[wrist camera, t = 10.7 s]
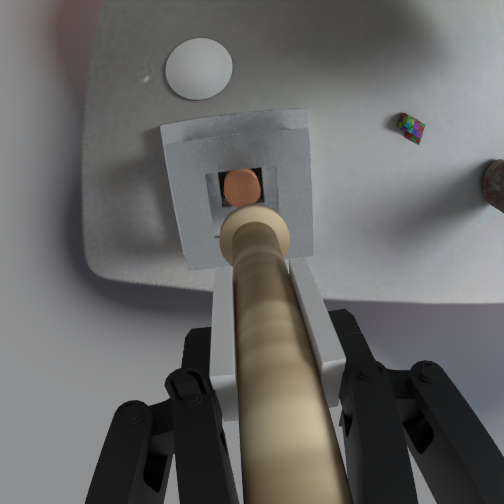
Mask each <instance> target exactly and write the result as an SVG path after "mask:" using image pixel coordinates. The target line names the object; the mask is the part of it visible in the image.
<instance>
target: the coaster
mask: <svg viewBox="0 0 504 504" xmlns="http://www.w3.org/2000/svg"><path fill="white" fill-rule="evenodd" d="M232 69H233V67H232V60H231V57H230V55H229V53H228V51H227V50H226V49H225V48H224V47H223V46H222V45H221V44H220V43H218V42H216V41H214V40H211V39H206V38H196V39H191V40H188V41H186V42H184V43H182V44H180V45H179V46H178V47H176V48H175V49H174V50H173V52H172V53H171V54H170V56H169V58H168V60H167V64H166V78H167V81H168V83H169V85H170V87H171V88H172V89H173V90H174V91H175V92H176V93H177V94H179V95H180V96H182V97H184V98H187V99H192V100H203V99H207V98H210V97H213V96H215V95H216V94H218V93H219V92H221V91H222V90H223V89H224V88H225V87H226V85H227V84H228V82H229V80H230V78H231V75H232Z"/></svg>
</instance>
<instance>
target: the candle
mask: <svg viewBox="0 0 504 504" xmlns="http://www.w3.org/2000/svg"><path fill="white" fill-rule="evenodd" d="M483 184H484V196H485V199H486V201H487V202H488V203H489V204H490V205H492V206H493V207H495V208H497V209H498V210H500V211H501V212H503V213H504V160H502V159H499V160H496V161H495V162H494V163H493V164H492V165H491V166H490V167H489V168H488V169H487V171H486V172H485V175H484V179H483Z"/></svg>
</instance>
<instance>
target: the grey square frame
mask: <svg viewBox="0 0 504 504" xmlns="http://www.w3.org/2000/svg"><path fill="white" fill-rule="evenodd" d="M160 130H161V136H162V142H163V149H164V155H165V161H166V167H167V172H168V178H169V184H170V189H171V194H172V200H173V205H174V210H175V215H176V220H177V225H178V230H179V235H180V240H181V244H182V249H183V254H184V256H186V261H187V265H188V270H189V271H191V270H199V269H208V268H216V267H224V266H231V265H230V264H229V263H228V262H227V261H226V260H225V258H224V257H223V255H222V253H221V250H220V244H219V240H220V229H221V226H222V223H223V221H224V220H225V218H226V217H227V216H228V215H229V214H230V213H231V212H232V211H233V210H235V209H236V208H237V207H234V206H232V205H231V204H230V203H229V202H228V201H226V202H223V201H222V194H221V187H220V179H219V172H225V171H233V170H241V169H250V168H259V167H260V171H261V182H262V193H263V197H260V198H258V200H257V201H256V203H254V204H262V205H266V206H269V207H271V208H273V209H274V210H276V211H277V212H278V213H279V214H280V215H281V216H282V218H283V219H284V221H285V224H286V226H287V228H288V231H289V235H290V245H289V249H288V252H287V254H286V255H285V257H284V259H290V258H298V257H306V256H313V216H312V185H311V162H310V144H309V129H308V116H307V109H306V108H295V109H279V110H265V111H254V112H244V113H235V114H226V115H218V116H211V117H204V118H197V119H191V120H184V121H179V122H173V123H167V124H163V125H160Z"/></svg>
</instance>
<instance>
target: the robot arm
mask: <svg viewBox="0 0 504 504" xmlns="http://www.w3.org/2000/svg"><path fill="white" fill-rule="evenodd" d="M289 276H290V280H291V283H292V286H293V290H294V293H295V296H296V299H297V302H298V306H299V309H300V312H301V316H302V319H303V322H304V326H305V329H306V332H307V336H308V339H309V342H310V346H311V349H312V352H313V356H314V359H315V363H316V366H317V370H318V373H319V376H320V380H321V383H322V387H323V390H324V394H325V397H326V401H327V404H328V408H330V407H335V406H338V403H339V399H340V402H341V405H342V412H341V417H340V421H339V426H342V428H343V436H344V446H345V454H346V465H347V476H348V482H349V486H350V490H351V494H352V498H353V502H354V504H418V499H417V493H416V488H415V482H414V478H413V472H412V467H411V462H410V458H409V454H408V449H407V446H408V448H409V450H410V452H411V454H412V456H413V458H414V459H415V461H416V463H417V465H418V467H419V469H420V471H421V473H422V475H423V477H424V479H425V481H426V483H427V485H428V487H429V489H430V491H431V492H432V495H433V496H434V499H435V501H436V503H437V504H504V457H503V455H502V453H501V452H500V450H499V449H498V447H497V446H496V444H495V443H494V441H493V439H492V438H491V436H490V435H489V433H488V432H487V431H486V429H485V427H484V426H483V425H482V423H481V422H480V420H479V419H478V417H477V416H476V414H475V413H474V411H473V410H472V409H471V407H470V406H469V404H468V403H467V402H466V400H465V399H464V397H463V396H462V395H461V393H460V392H459V390H458V389H457V388H456V386H455V385H454V384H453V383H452V381H451V380H450V378H449V377H448V376H447V374H446V373H445V372H444V370H443V369H442V368H441V367H440V366H439V365H438V364H436V363H434V362H432V361H425V360H424V361H420V362H417V363H416V364H414V365H413V366H412V368H411V370H391V369H387V368H385V366H384V365H382V364H381V363H380V362H378V361H376V360H375V359H374V357H373V355H372V353H371V351H370V349H369V346H368V344H367V342H366V340H365V338H364V336H363V334H362V333H361V330H360V328H359V326H358V324H357V322H356V320H355V318H354V316H353V315H352V314H350V312H348V311H347V310H346V309H341V310H334V311H328V312H327V310H326V307H325V305H324V303H323V300H322V297H321V295H320V293H319V290H318V288H317V285H316V283H315V281H314V278H313V276H312V274H311V271H310V269H309V267H308V264H307V262H306V260H305V258H295V259H289ZM165 388H166V390H167V392H168V394H169V396H170V398H169V399H168V400H166V401H163V402H161V403H157V404H154V405H151V406H147V405H146V404H145V403H144V402H141V401H138V400H133V401H128V402H125V403H123V404H122V405H121V406H119V407H118V409H117V410H116V412H115V414H114V417H113V420H112V422H111V425H110V428H109V431H108V433H107V436H106V439H105V442H104V445H103V448H102V451H101V454H100V457H99V460H98V463H97V466H96V469H95V472H94V475H93V478H92V481H91V484H90V488H89V491H88V494H87V497H86V501H85V504H163V503H164V498H165V493H166V488H167V483H168V478H169V472H170V468H171V463H172V458H173V454H175V460H176V472H177V481H178V491H179V500H180V504H239V500H238V495H237V492H236V487H235V482H234V477H233V473H232V468H231V463H230V458H229V454H228V448H227V444H226V438H225V433H224V430H223V427H222V417H223V420H224V421H236V420H239V413H238V377H237V354H236V330H235V302H234V281H233V274H232V268H231V266H228V267H219V268H215V280H214V296H213V312H212V327H206V328H194V329H191V330H190V332H189V333H188V334H187V336H186V337H185V344H184V350H183V358H182V366H181V368H180V369H176V370H175V371H173V372H172V373H170V375H169V376H168V377H167V378H166V381H165Z"/></svg>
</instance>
